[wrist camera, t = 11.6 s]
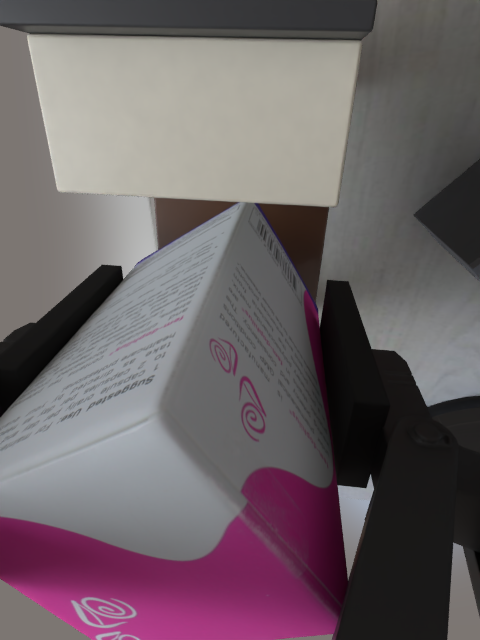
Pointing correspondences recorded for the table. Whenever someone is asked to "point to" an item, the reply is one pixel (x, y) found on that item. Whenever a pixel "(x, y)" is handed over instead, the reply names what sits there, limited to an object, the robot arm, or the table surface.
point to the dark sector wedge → (460, 420)
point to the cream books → (197, 95)
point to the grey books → (457, 219)
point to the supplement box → (182, 453)
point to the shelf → (287, 220)
